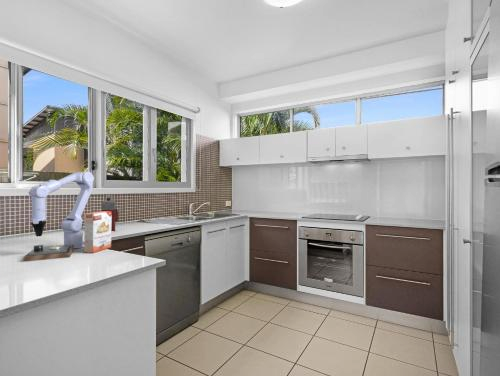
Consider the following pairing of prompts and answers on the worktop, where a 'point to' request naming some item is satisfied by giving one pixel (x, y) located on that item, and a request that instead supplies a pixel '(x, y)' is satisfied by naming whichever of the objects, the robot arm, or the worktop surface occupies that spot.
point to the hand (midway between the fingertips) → (39, 236)
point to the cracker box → (97, 231)
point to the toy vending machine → (111, 207)
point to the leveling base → (49, 255)
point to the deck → (49, 249)
